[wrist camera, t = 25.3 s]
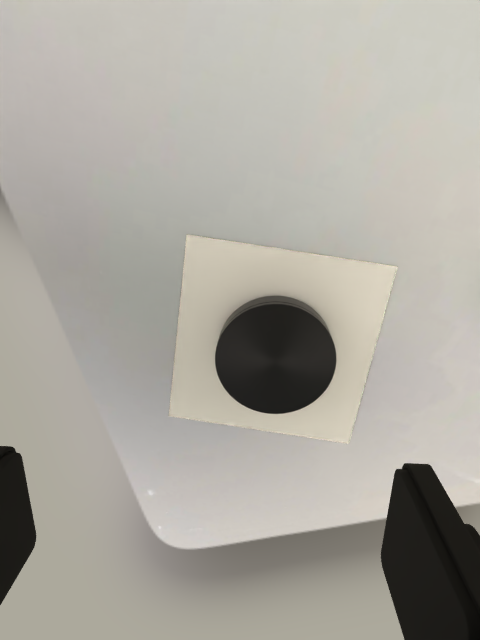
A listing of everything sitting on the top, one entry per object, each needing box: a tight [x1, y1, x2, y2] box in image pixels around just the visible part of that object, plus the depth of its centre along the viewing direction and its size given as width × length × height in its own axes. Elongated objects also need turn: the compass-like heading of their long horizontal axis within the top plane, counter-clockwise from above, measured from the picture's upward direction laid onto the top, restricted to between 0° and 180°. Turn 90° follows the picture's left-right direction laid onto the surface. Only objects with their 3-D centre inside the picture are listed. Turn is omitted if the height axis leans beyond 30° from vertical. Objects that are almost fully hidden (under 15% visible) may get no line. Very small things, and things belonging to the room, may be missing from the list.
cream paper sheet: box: [169, 234, 397, 444], centre depth 25 cm, size 12×12×2 cm
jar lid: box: [215, 296, 336, 414], centre depth 25 cm, size 7×7×2 cm
